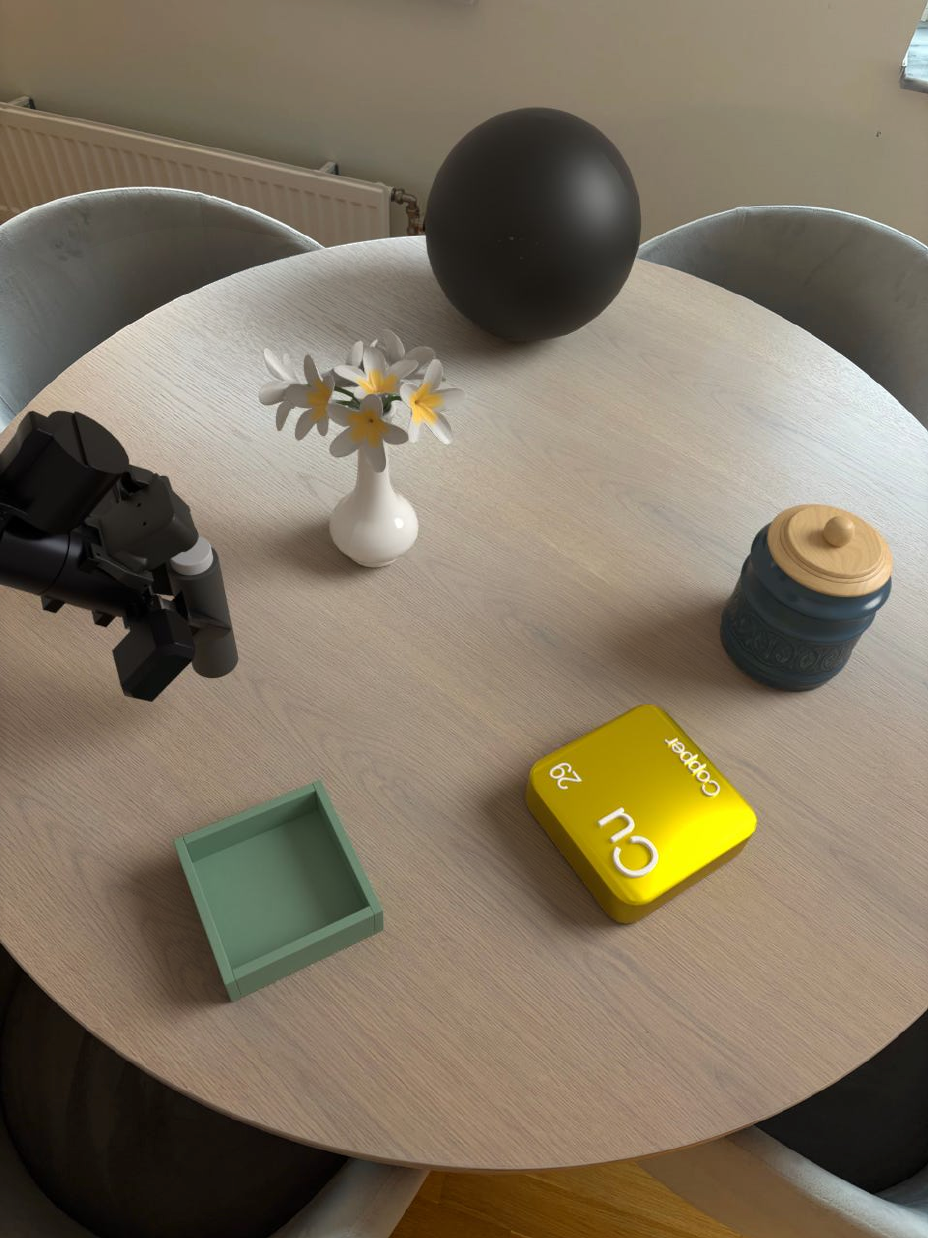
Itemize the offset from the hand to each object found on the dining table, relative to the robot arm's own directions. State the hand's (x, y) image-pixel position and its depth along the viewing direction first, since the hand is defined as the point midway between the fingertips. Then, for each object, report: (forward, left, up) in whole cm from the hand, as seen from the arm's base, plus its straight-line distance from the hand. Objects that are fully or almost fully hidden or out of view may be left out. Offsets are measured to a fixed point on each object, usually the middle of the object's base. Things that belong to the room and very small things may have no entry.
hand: (221, 613), depth 79 cm
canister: (+51, -17, -13) cm, 56 cm away
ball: (+54, +42, -13) cm, 70 cm away
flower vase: (+18, +12, -13) cm, 26 cm away
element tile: (+26, -27, -13) cm, 40 cm away
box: (-4, -20, -12) cm, 24 cm away
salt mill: (-1, 0, -6) cm, 6 cm away
